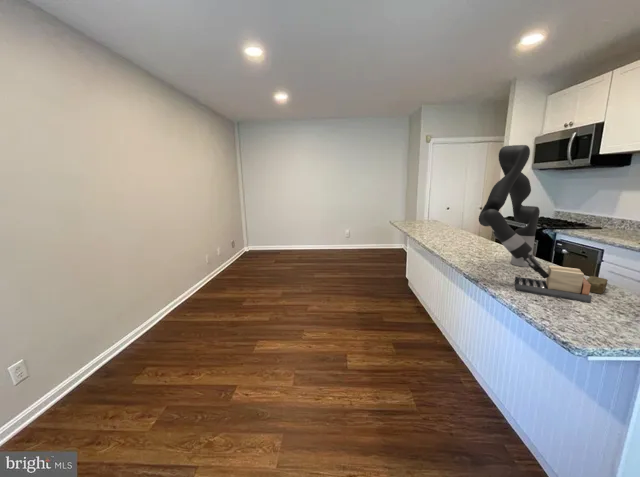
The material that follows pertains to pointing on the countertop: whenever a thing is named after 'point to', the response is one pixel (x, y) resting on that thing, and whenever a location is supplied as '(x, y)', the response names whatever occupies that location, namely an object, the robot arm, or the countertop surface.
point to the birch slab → (564, 279)
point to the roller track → (542, 289)
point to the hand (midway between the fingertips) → (546, 277)
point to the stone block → (597, 284)
